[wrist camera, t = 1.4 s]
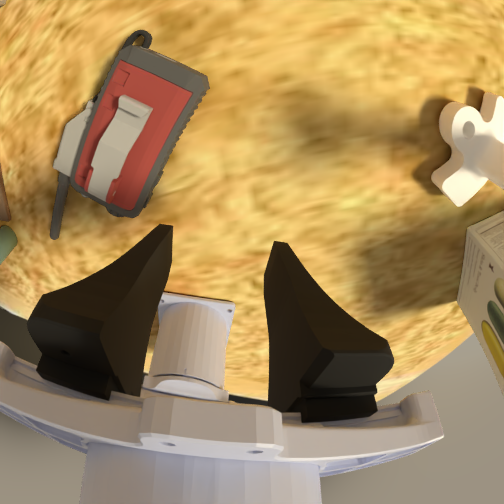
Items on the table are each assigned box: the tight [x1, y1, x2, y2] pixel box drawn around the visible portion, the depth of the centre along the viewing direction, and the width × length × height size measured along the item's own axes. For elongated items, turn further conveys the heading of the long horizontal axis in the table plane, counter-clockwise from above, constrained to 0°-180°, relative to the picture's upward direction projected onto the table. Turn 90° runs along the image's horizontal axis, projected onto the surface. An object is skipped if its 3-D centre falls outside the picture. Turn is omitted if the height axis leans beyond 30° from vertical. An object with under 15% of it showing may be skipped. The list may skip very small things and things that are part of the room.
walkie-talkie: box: [50, 30, 210, 240], centre depth 17 cm, size 9×4×20 cm
